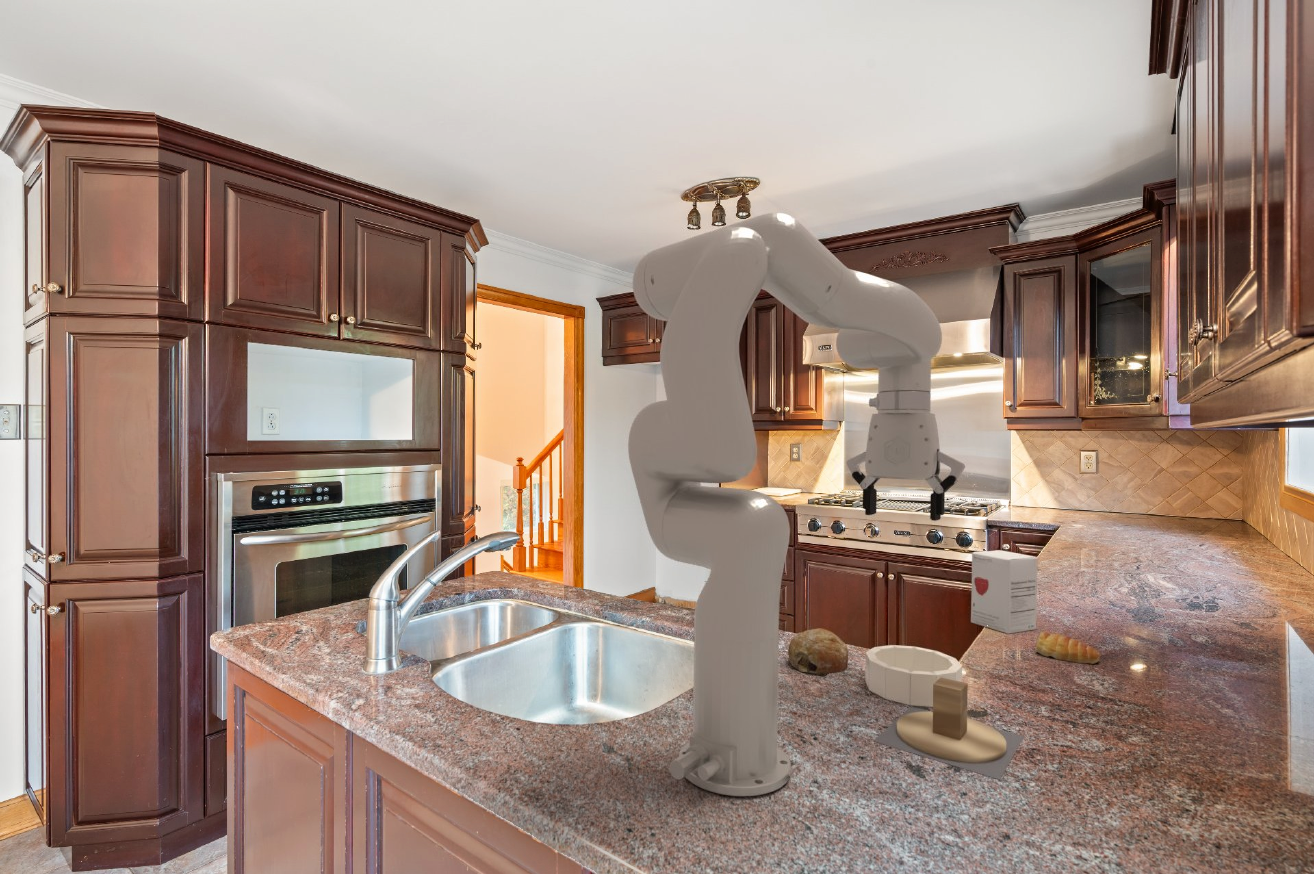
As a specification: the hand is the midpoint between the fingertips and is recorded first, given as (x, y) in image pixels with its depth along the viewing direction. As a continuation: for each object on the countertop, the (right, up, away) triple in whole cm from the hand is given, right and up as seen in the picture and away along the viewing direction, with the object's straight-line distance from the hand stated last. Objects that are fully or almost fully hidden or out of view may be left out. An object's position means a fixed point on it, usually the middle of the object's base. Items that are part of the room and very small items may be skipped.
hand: (902, 517), depth 99 cm
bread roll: (-10, -26, +10) cm, 30 cm away
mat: (-1, -26, -18) cm, 32 cm away
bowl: (+1, -26, -2) cm, 26 cm away
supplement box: (+34, -27, +36) cm, 56 cm away
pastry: (+35, -27, +17) cm, 48 cm away
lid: (-1, -25, -18) cm, 31 cm away
